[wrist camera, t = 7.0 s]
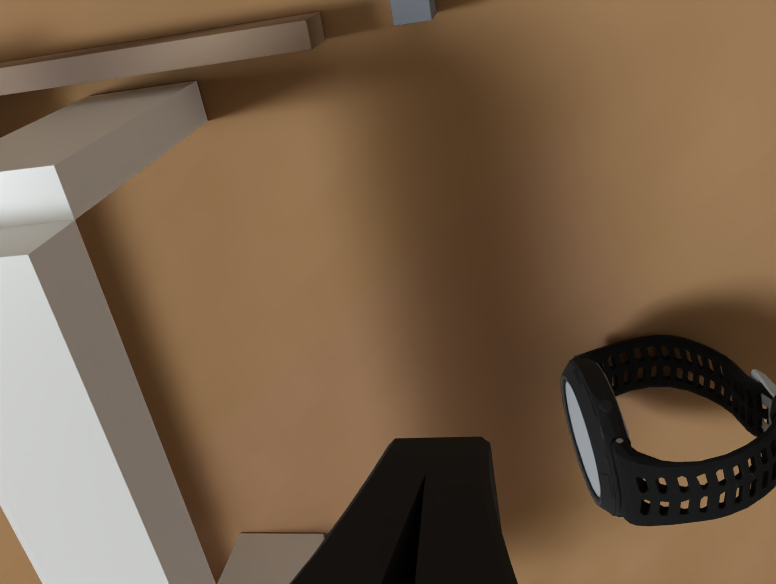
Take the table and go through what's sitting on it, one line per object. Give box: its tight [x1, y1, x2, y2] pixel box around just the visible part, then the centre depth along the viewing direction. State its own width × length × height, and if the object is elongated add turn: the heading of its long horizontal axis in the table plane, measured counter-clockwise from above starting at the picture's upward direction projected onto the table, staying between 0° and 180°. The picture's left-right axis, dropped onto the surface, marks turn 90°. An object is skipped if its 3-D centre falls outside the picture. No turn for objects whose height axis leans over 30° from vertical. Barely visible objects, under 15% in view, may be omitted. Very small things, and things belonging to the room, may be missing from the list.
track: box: [0, 12, 325, 95], centre depth 20 cm, size 21×21×3 cm
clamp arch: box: [0, 81, 325, 584], centre depth 18 cm, size 3×16×8 cm, turn 10°
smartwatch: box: [561, 335, 776, 526], centre depth 17 cm, size 4×5×5 cm
